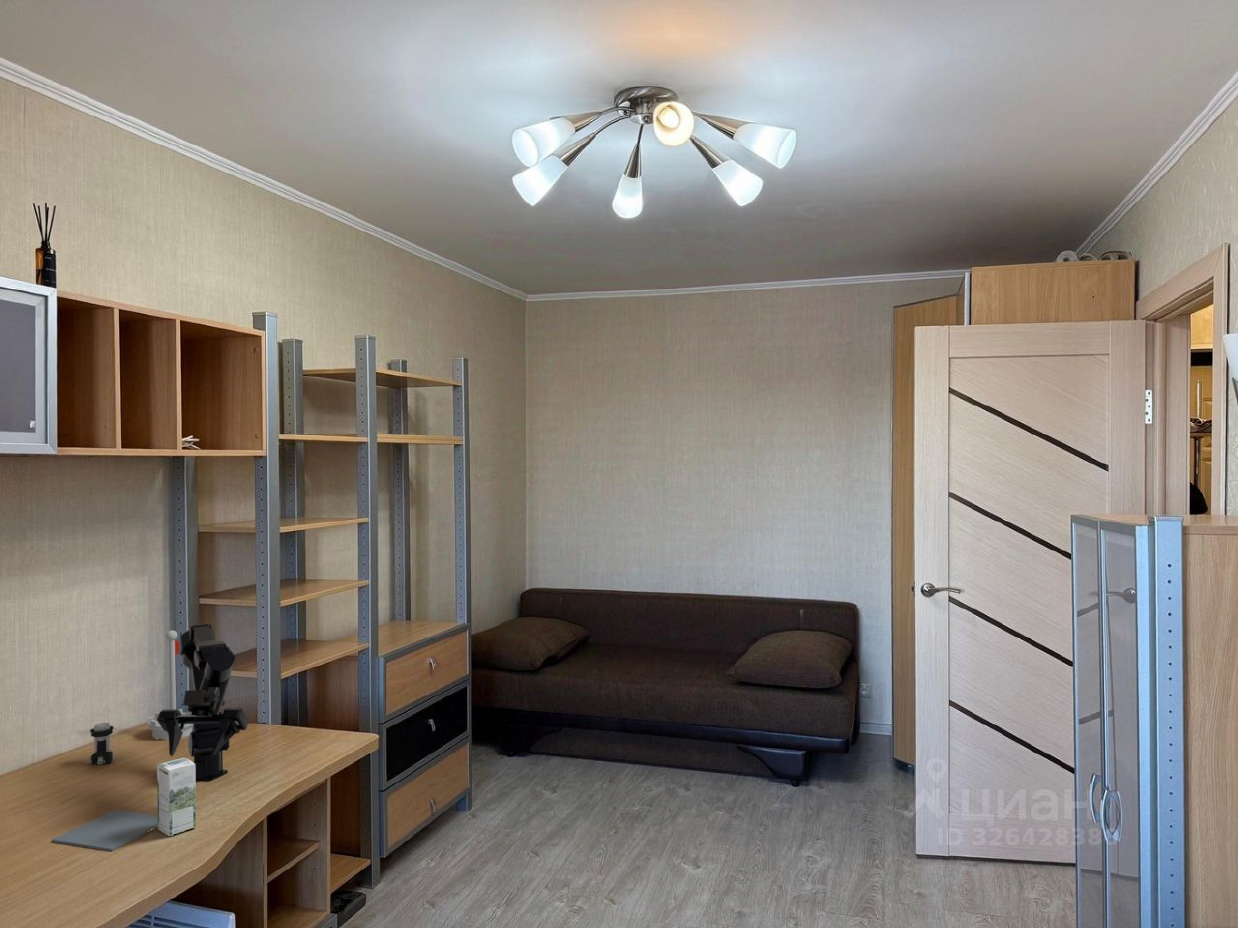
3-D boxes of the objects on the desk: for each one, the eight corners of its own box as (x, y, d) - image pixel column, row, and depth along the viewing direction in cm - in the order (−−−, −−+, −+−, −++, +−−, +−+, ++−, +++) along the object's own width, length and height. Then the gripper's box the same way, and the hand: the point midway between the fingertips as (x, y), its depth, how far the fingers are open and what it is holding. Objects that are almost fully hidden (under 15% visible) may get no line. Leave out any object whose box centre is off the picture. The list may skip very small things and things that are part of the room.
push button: (81, 767, 229) (80, 728, 229) (90, 760, 234) (89, 722, 234) (109, 765, 230) (108, 727, 230) (117, 758, 235) (116, 721, 235)
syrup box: (184, 821, 194) (183, 756, 194) (197, 828, 190) (195, 761, 190) (157, 830, 190) (155, 763, 190) (169, 837, 186) (168, 769, 186)
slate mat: (116, 811, 200) (115, 809, 200) (172, 819, 195) (172, 817, 195) (51, 841, 185) (51, 839, 185) (111, 851, 180) (111, 848, 180)
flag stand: (153, 744, 247) (151, 637, 246) (143, 733, 257) (141, 630, 257) (203, 734, 255) (201, 630, 255) (192, 723, 265) (190, 624, 265)
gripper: (159, 674, 202) (135, 738, 191) (242, 673, 203) (223, 736, 192) (176, 699, 210) (154, 761, 199) (256, 697, 211) (238, 760, 200)
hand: (191, 754), depth 197 cm, fingers open, 9 cm apart
